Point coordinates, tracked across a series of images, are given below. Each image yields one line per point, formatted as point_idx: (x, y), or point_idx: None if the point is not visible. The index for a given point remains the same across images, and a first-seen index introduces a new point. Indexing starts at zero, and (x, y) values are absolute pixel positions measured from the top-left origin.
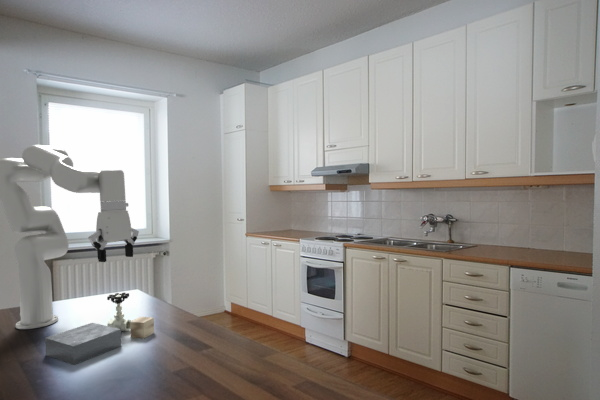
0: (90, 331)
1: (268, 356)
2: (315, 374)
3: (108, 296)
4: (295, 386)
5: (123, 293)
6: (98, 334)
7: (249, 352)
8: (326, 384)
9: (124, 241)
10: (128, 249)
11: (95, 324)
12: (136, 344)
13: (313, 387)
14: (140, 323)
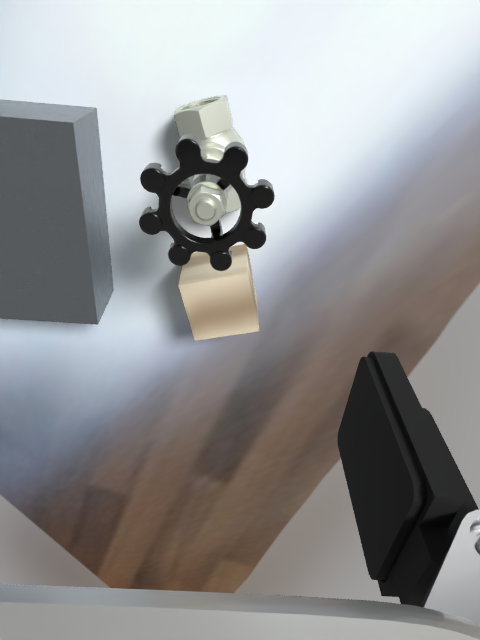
0: (8, 235)
1: (231, 563)
2: None
3: (151, 174)
4: None
5: (254, 204)
6: (15, 295)
7: (233, 539)
8: None
9: (432, 590)
10: (368, 491)
11: (68, 168)
12: (149, 322)
13: None
14: (191, 325)
